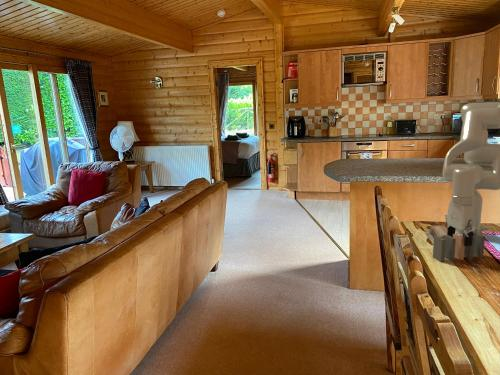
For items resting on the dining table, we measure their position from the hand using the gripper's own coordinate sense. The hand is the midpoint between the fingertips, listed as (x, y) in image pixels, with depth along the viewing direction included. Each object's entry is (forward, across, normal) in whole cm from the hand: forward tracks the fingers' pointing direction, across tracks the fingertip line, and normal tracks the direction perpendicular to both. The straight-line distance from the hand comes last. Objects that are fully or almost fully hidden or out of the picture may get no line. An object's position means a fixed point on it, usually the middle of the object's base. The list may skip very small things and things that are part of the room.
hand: (459, 241), depth 152 cm
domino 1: (+6, +1, -9) cm, 11 cm away
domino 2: (+6, +1, -5) cm, 8 cm away
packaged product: (+8, -19, +6) cm, 22 cm away
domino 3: (+7, 0, -1) cm, 7 cm away
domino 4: (+7, +1, +4) cm, 8 cm away
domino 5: (+7, +1, +8) cm, 10 cm away
